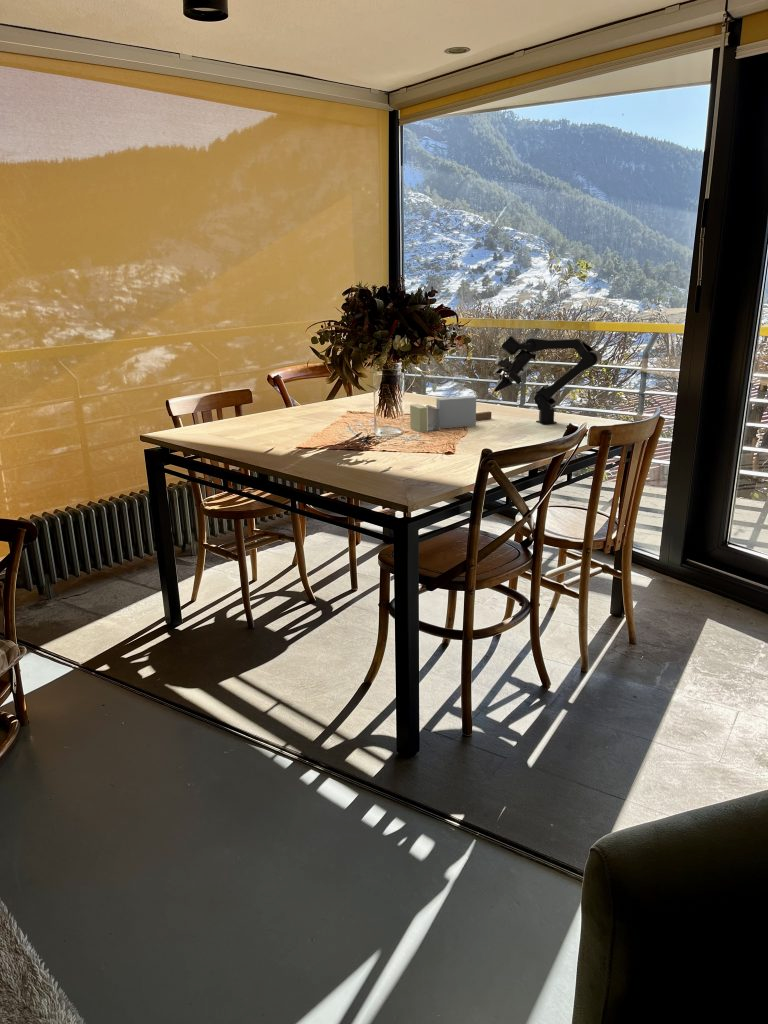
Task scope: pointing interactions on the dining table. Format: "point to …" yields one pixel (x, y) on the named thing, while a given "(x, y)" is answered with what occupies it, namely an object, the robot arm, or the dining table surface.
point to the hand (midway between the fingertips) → (494, 391)
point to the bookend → (433, 418)
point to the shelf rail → (483, 415)
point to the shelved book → (419, 417)
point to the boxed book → (456, 411)
